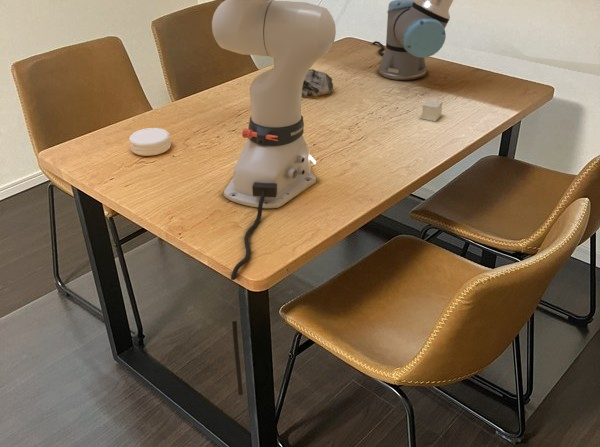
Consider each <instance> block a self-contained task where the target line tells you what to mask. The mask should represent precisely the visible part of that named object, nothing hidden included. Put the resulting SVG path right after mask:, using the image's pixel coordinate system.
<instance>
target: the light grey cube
mask: <svg viewBox="0 0 600 447" xmlns="http://www.w3.org/2000/svg"><path fill="white" fill-rule="evenodd" d="M442 110H443V101H438V100H434V99H433V100H432V99H428V100H426V101H425V103H423V105H422V111H421V119H422V120H427V121H431V122H436V121H438V120H439V119H440V117H442Z"/></svg>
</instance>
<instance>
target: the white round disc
mask: <svg viewBox="0 0 600 447" xmlns="http://www.w3.org/2000/svg"><path fill="white" fill-rule="evenodd" d="M170 136H171V135H170V132H169V131H168V130H166V129H164V128H160V127H147V128H142V129H139V130H136V131H134V132H133V133H131V134H130V135H129V139H128V141H129V145H130V150H131V151H132V153H134V154H135V155H138V156H142V157H143V156H145V157H146V156H147V157H151V156H152V157H153V156H157V155H161V154H163V153H165V152H168V150H169V149H170V148H171V146H172V142H171V137H170Z"/></svg>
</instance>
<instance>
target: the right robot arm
mask: <svg viewBox="0 0 600 447" xmlns="http://www.w3.org/2000/svg"><path fill="white" fill-rule="evenodd" d="M453 2H454V0H391V1H390V2H389V3H388V7H387V8H388V9H387V11H386V12H387V18H386V19H387V22H386V40H385V46H384V45H383V43H381V42H380V41H378V40H375V41H373V42H372V45H375V44H377V45H379V46H380V48H379V49H378V51H377V52H378V54H379V55H381V56H382V58H381V61H380V63H379V66H378V73H379V75H380V76H381V77H384V78H386V79H389V80H394V81H414V80H420V79H422V78H424V77H426V74H427V65H426V60H425V58H428V57H432V56H433V55H435V54H437V53H438V52H439V51H440V50H441V49H442V48H443V46H444V45H445V42H446V38H447V36H446V35H447V34H446V27H447V25H448V23H449V21H450V19H451V16H450V12H449V10H450V9H451V6H452V4H453ZM384 49H385V50H384ZM383 50H384V52H382V51H383Z"/></svg>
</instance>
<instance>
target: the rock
mask: <svg viewBox="0 0 600 447" xmlns="http://www.w3.org/2000/svg"><path fill="white" fill-rule="evenodd" d="M333 90H334V83H333V78H332V77H331V76H330V75H329V74H328V73H327V72H324V71H319V70H315V69H313V68H312V69H311V68H310V69H309V71H308V72H307V74H306V76H305V79H304V82H303V87H302V97H312V96H314V97H318V96H324V95H328V94H330V93H331V92H332V91H333Z"/></svg>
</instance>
